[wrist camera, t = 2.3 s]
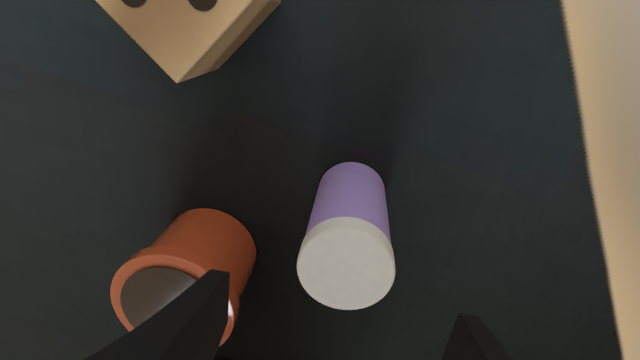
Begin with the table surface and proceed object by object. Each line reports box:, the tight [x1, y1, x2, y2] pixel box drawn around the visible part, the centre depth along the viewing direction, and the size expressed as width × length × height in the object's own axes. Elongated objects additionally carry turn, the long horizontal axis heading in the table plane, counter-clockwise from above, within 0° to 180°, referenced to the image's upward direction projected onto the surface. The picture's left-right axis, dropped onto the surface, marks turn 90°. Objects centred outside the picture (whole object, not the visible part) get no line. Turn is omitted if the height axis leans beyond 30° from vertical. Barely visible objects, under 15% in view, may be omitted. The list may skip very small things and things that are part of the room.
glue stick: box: [297, 162, 395, 310], centre depth 17 cm, size 4×4×7 cm
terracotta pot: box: [110, 208, 256, 346], centre depth 20 cm, size 6×6×5 cm
